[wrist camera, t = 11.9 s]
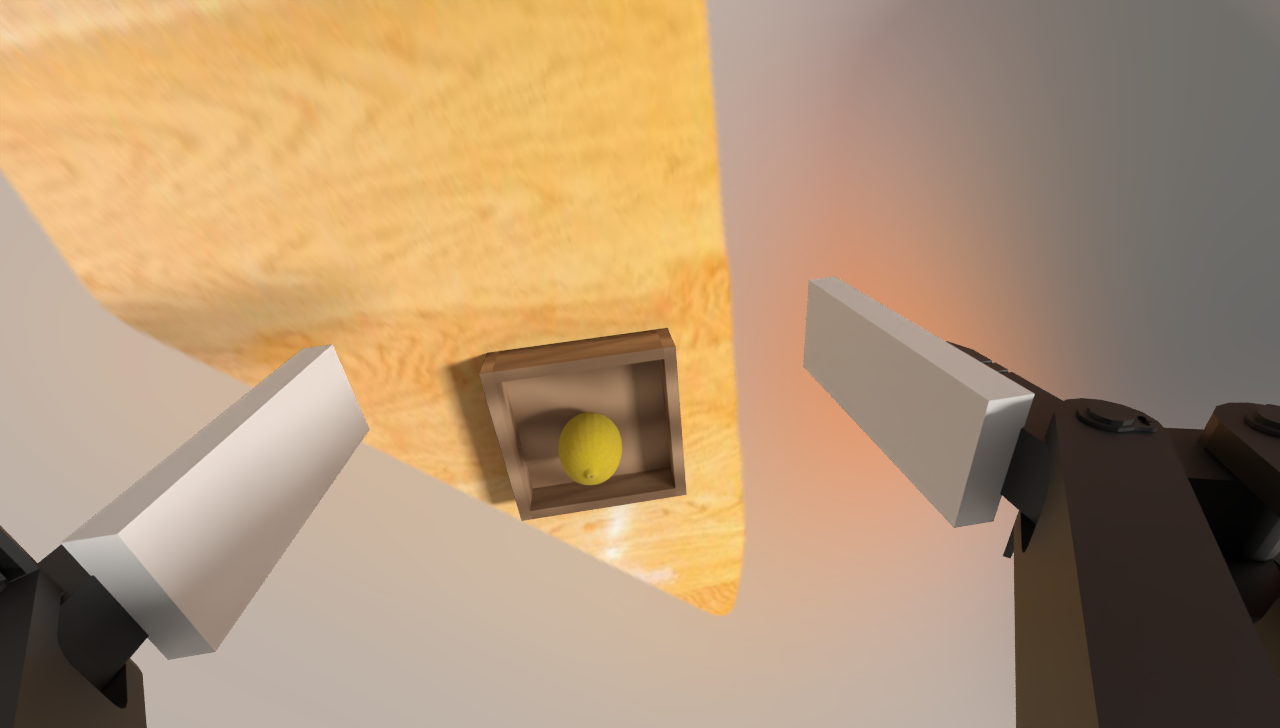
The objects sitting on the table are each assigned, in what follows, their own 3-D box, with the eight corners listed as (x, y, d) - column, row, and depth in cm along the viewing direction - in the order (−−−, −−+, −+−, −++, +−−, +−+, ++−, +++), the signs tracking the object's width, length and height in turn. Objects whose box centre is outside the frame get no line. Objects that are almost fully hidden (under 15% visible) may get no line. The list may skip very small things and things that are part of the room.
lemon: (586, 455, 47) (587, 514, 40) (547, 419, 44) (541, 475, 37) (630, 423, 46) (639, 478, 39) (593, 385, 43) (595, 436, 36)
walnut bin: (487, 352, 42) (478, 374, 38) (667, 328, 42) (675, 346, 39) (525, 492, 49) (521, 520, 45) (678, 468, 50) (686, 494, 46)
